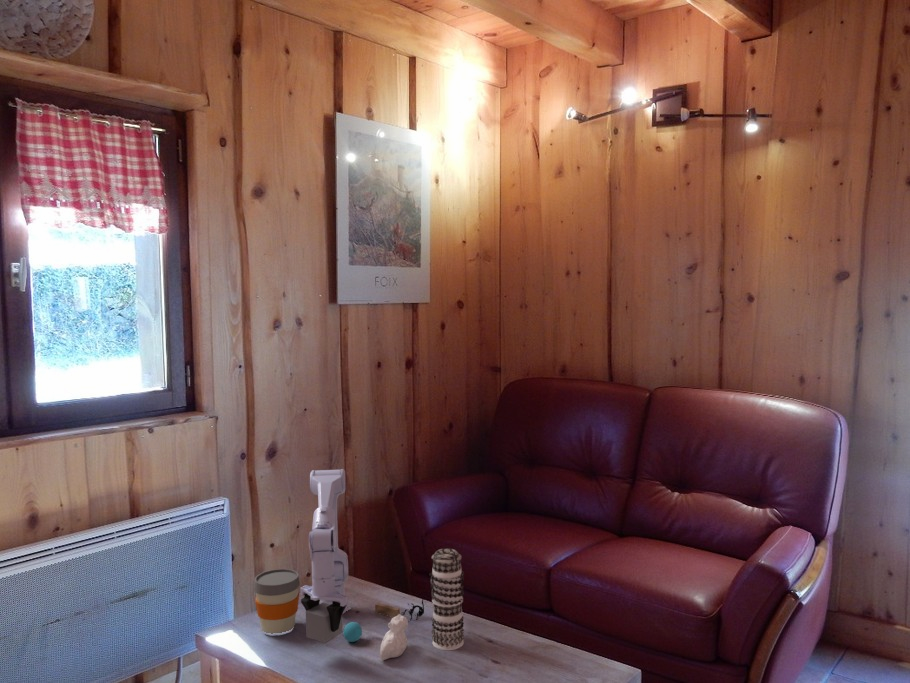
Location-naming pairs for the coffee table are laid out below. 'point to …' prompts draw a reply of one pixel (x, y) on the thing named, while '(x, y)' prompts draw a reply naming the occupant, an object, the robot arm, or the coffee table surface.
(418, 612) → the creature
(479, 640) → the coffee table surface
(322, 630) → the grey matte cube
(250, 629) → the coffee table surface
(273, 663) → the coffee table surface
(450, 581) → the decorative candle
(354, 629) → the ball
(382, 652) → the bust
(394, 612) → the stopper bar
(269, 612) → the reusable coffee cup
